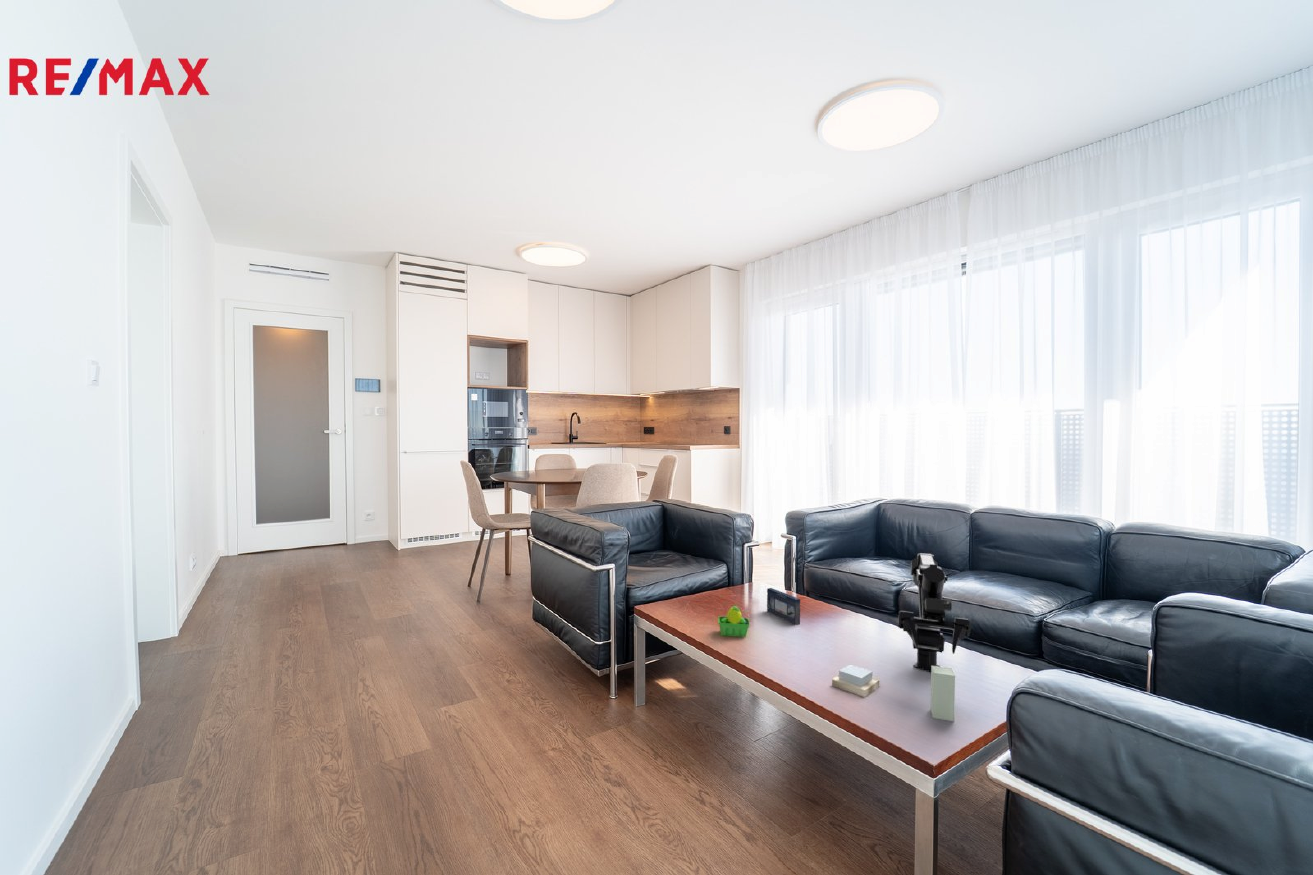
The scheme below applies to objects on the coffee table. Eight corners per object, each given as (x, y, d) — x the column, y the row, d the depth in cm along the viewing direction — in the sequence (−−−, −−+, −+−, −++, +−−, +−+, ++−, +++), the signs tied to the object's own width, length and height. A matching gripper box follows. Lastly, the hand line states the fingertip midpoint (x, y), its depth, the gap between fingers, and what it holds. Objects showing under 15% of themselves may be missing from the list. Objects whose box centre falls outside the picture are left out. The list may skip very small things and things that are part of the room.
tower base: (847, 677, 172) (847, 669, 172) (879, 688, 165) (879, 680, 165) (831, 687, 165) (832, 679, 165) (864, 699, 158) (864, 690, 158)
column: (930, 709, 152) (931, 665, 152) (950, 712, 150) (951, 668, 150) (932, 718, 147) (933, 672, 147) (954, 721, 145) (955, 675, 145)
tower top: (849, 672, 170) (849, 664, 170) (872, 679, 165) (872, 671, 165) (838, 679, 165) (839, 670, 165) (861, 686, 160) (861, 678, 160)
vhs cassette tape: (766, 611, 235) (766, 588, 235) (772, 610, 236) (772, 587, 236) (794, 625, 218) (794, 600, 218) (800, 624, 220) (801, 599, 220)
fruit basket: (748, 631, 211) (748, 601, 211) (749, 639, 202) (750, 608, 202) (717, 629, 212) (718, 600, 212) (718, 638, 203) (718, 607, 203)
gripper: (899, 583, 165) (900, 629, 154) (970, 590, 159) (976, 640, 148) (897, 604, 172) (898, 650, 161) (966, 612, 165) (971, 661, 154)
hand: (935, 650), depth 156 cm, fingers open, 9 cm apart
